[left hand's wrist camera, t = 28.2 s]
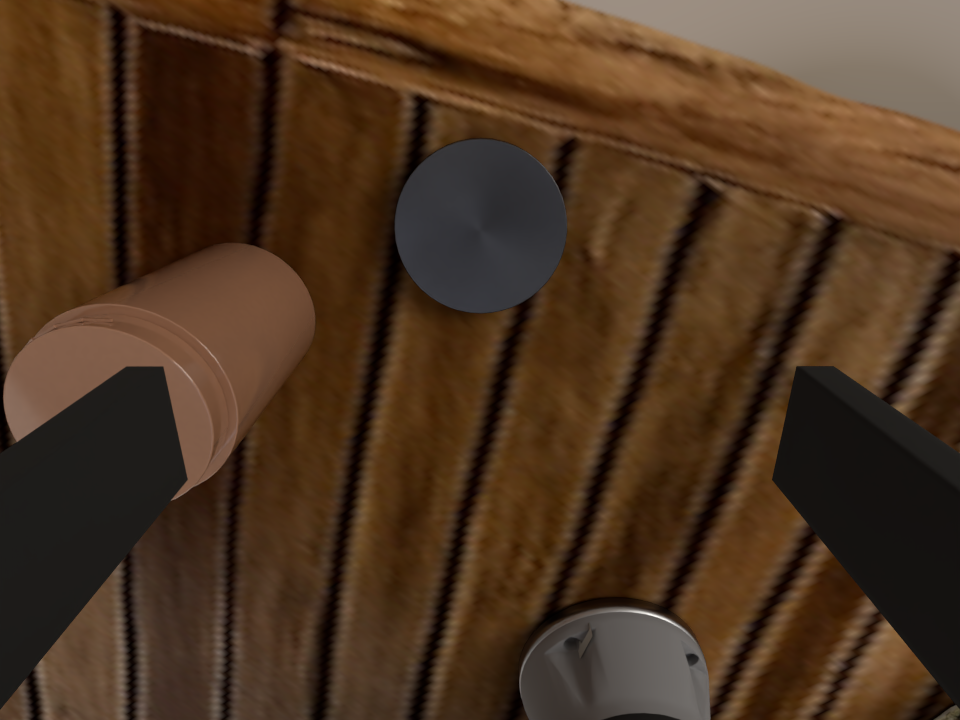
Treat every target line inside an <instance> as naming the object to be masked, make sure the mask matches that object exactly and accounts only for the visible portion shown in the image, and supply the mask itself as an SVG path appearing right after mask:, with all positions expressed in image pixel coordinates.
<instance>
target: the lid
mask: <svg viewBox="0 0 960 720" xmlns="http://www.w3.org/2000/svg"><path fill="white" fill-rule="evenodd" d="M394 231H395V240H396V245H397V249H398V253H399V255H400V258H401V261H402V263H403V265H404V267H405V269H406V270H407V272H408V274H409V275H410V277H411V278H412V279H413V281H414V282H415V283H416V284H417V285H418V286H419V287H420V288H421V290H423V291H424V292H425V293H426V294H427V295H429V296H430V297H431V298H433V299H434V300H436V301H438V302H439V303H441V304H443V305H445V306H448V307H450V308H453V309H456V310H459V311H464V312H469V313H492V312H497V311H502V310H505V309H508V308H512V307H514V306H516V305H518V304H520V303H522V302H524V301H525V300H527V299H529V298H530V297H531V296H533V295H534V294H535V293H536V292H538V291H539V290H540V289H541V288H542V287H543V286H544V285H545V284H546V283H547V281H548V280H549V278H550V277H551V276H552V274H553V273H554V271H555V269H556V268H557V266H558V264H559V261H560V259H561V257H562V254H563V250H564V247H565V243H566V235H567V217H566V209H565V205H564V201H563V198H562V195H561V193H560V190H559V188H558V186H557V184H556V182H555V181H554V179H553V177H552V176H551V175H550V173H549V172H548V171H547V169H546V168H545V167H544V166H543V165H542V164H541V163H540V162H539V161H538V160H537V159H536V158H534V157H533V156H532V155H530V154H529V153H527V152H526V151H524V150H523V149H521V148H519V147H517V146H515V145H513V144H510V143H507V142H505V141H501V140H496V139H490V138H470V139H465V140H460V141H457V142H454V143H451V144H448V145H446V146H444V147H443V148H441V149H439V150H437V151H436V152H434V153H433V154H431V155H430V156H429V157H427V158H426V159H425V160H424V161H423V162H422V163H421V164H419V165H418V166H417V168H416V169H415V170H414V171H413V173H412V174H411V175H410V177H409V178H408V180H407V182H406V183H405V185H404V187H403V189H402V192H401V194H400V196H399V200H398V203H397V207H396V213H395V225H394Z"/></svg>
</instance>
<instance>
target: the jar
mask: <svg viewBox="0 0 960 720" xmlns="http://www.w3.org/2000/svg"><path fill="white" fill-rule="evenodd" d="M314 332H315V312H314V307H313V303H312V300H311V297H310V295H309V292H308V290H307V288H306V287H305V285H304V283H303V281H302V280H301V279H300V277H299V276H298V275H297V273H296V272H295V271H294V270H293V269H292V268H291V267H290V266H289V265H287V264H286V263H285V262H284V261H283V260H281V259H280V258H278V257H277V256H275V255H274V254H272V253H270V252H268V251H266V250H264V249H261V248H258V247H256V246H252V245H248V244H242V243H222V244H216V245H212V246H209V247H206V248H204V249H202V250H199V251H197V252H195V253H193V254H191V255H189V256H186V257H184V258H182V259H180V260H178V261H175V262H173V263H171V264H169V265H167V266H164V267H162V268H160V269H158V270H156V271H154V272H151V273H149V274H147V275H145V276H143V277H140V278H138V279H136V280H134V281H132V282H129V283H127V284H125V285H123V286H121V287H119V288H116V289H114V290H112V291H110V292H108V293H105V294H103V295H101V296H99V297H97V298H95V299H92V300H90V301H88V302H86V303H84V304H81V305H79V306H77V307H75V308H73V309H70V310H68V311H66V312H64V313H62V314H60V315H58V316H56V317H55V318H54V319H52V320H51V321H49V322H48V323H47V324H46V325H45V326H44V327H43V328H42V329H41V330H40V331H39V332H38V333H37V334H36V336H35V337H33V338H31V339H30V340H29V342H28V343H27V344H26V345H25V347H24V348H23V349H22V350H21V351H20V352H19V353H18V355H17V356H16V357H15V358H14V360H13V362H12V364H11V366H10V368H9V370H8V373H7V375H6V379H5V383H4V392H3V401H4V410H5V415H6V419H7V422H8V425H9V428H10V430H11V433H12V435H13V437H14V439H15V440H16V442H18V441H19V440H21V439H22V438H23V437H25V436H26V435H28V434H29V433H31V432H32V431H34V430H35V429H37V428H38V427H39V426H41V425H42V424H44V423H45V422H47V421H48V420H50V419H51V418H52V417H54V416H55V415H57V414H58V413H60V412H61V411H63V410H64V409H65V408H67V407H68V406H70V405H71V404H73V403H74V402H76V401H77V400H78V399H80V398H81V397H83V396H84V395H86V394H87V393H89V392H90V391H92V390H93V389H94V388H96V387H97V386H99V385H100V384H102V383H103V382H105V381H106V380H107V379H109V378H110V377H112V376H113V375H115V374H116V373H118V372H119V371H120V370H122V369H123V368H125V367H126V366H163V367H164V371H165V376H166V381H167V385H168V390H169V395H170V399H171V404H172V408H173V413H174V418H175V422H176V427H177V432H178V436H179V441H180V445H181V450H182V455H183V459H184V464H185V469H186V473H187V478H188V480H187V481H186V483H185V484H184V485H183V486H182V488H181V489H180V490H179V491H178V492H177V494H176V495H175V496H174V497H173V499H172V500H174V499H176V498H178V497H180V496H181V495H183V494H185V493H186V492H187V491H189V490H190V489H191V488H192V487H194V486H196V485H199V484H200V483H202V482H204V481H205V480H207V479H209V478H210V477H211V476H212V475H213V474H215V473H216V472H217V471H218V470H219V469H220V468H221V467H222V465H223V464H224V463H225V462H226V460H227V459H228V458H229V456H230V455H231V454H232V452H233V451H234V450H235V448H236V447H237V446H238V444H239V443H240V442H241V440H242V439H243V438H244V436H245V435H246V434H247V432H248V431H249V430H250V428H251V427H252V426H253V424H254V423H255V422H256V420H257V419H258V418H259V416H260V415H261V414H262V412H263V411H264V410H265V408H266V407H267V406H268V404H269V403H270V402H271V400H272V399H273V398H274V396H275V395H276V394H277V392H278V391H279V390H280V388H281V387H282V386H283V384H284V383H285V382H286V380H287V379H288V378H289V376H290V375H291V374H292V372H293V371H294V370H295V368H296V367H297V366H298V364H299V363H300V362H301V360H302V359H303V358H304V356H305V355H306V353H307V352H308V350H309V348H310V346H311V343H312V340H313V337H314Z"/></svg>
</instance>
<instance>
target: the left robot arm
mask: <svg viewBox="0 0 960 720" xmlns="http://www.w3.org/2000/svg"><path fill="white" fill-rule="evenodd" d="M187 480H188V478H187V473H186V469H185V464H184V459H183V455H182V450H181V445H180V441H179V436H178V432H177V427H176V422H175V418H174V413H173V408H172V404H171V399H170V395H169V390H168V385H167V381H166V376H165V371H164V367H163V366H126V367H125V368H123V369H122V370H120V371H119V372H118V373H116V374H115V375H113V376H112V377H110V378H109V379H107V380H106V381H105V382H103V383H102V384H100V385H99V386H97V387H96V388H94V389H93V390H92V391H90V392H89V393H87V394H86V395H84V396H83V397H81V398H80V399H78V400H77V401H76V402H74V403H73V404H71V405H70V406H68V407H67V408H65V409H64V410H63V411H61V412H60V413H58V414H57V415H55V416H54V417H52V418H51V419H50V420H48V421H47V422H45V423H44V424H42V425H41V426H39V427H38V428H37V429H35V430H34V431H32V432H31V433H29V434H28V435H26V436H25V437H23V438H22V439H21V440H19V441H18V442H16V443H15V444H13V445H12V446H10V447H9V448H8V449H6V450H5V451H3V452H2V453H0V709H1V708H2V707H3V705H4V704H5V703H6V702H7V701H8V699H9V698H10V697H11V696H12V694H13V693H14V692H15V691H16V690H17V688H18V687H19V686H20V685H21V683H22V682H23V681H24V680H25V679H26V677H27V676H28V675H29V674H30V672H31V671H32V670H33V669H34V668H35V666H36V665H37V664H38V663H39V661H40V660H41V659H42V658H43V657H44V655H45V654H46V653H47V652H48V650H49V649H50V648H51V647H52V645H53V644H54V643H55V642H56V641H57V639H58V638H59V637H60V636H61V634H62V633H63V632H64V631H65V630H66V628H67V627H68V626H69V625H70V623H71V622H72V621H73V620H74V619H75V617H76V616H77V615H78V614H79V612H80V611H81V610H82V609H83V608H84V606H85V605H86V604H87V603H88V601H89V600H90V599H91V598H92V597H93V595H94V594H95V593H96V592H97V590H98V589H99V588H100V587H101V585H102V584H103V583H104V582H105V581H106V579H107V578H108V577H109V576H110V574H111V573H112V572H113V571H114V570H115V568H116V567H117V566H118V565H119V563H120V562H121V561H122V560H123V559H124V557H125V556H126V555H127V554H128V552H129V551H130V550H131V549H132V548H133V546H134V545H135V544H136V543H137V541H138V540H139V539H140V538H141V537H142V535H143V534H144V533H145V532H146V530H147V529H148V528H149V527H150V526H151V524H152V523H153V522H154V521H155V519H156V518H157V517H158V516H159V514H160V513H161V512H162V511H163V510H164V508H165V507H166V506H167V505H168V503H169V502H170V501H171V500H172V499H173V497H174V496H175V495H176V494H177V492H178V491H179V490H180V489H181V488H182V486H183V485H184V484H185V483H186V481H187ZM772 480H773V481H774V483H775V484H776V485H777V486H778V488H779V489H780V490H781V491H782V492H783V494H784V495H785V496H786V497H787V499H788V500H789V501H790V502H791V503H792V505H793V506H794V507H795V508H796V510H797V511H798V512H799V513H800V514H801V516H802V517H803V518H804V519H805V521H806V522H807V523H808V524H809V526H810V527H811V528H812V529H813V530H814V532H815V533H816V534H817V535H818V537H819V538H820V539H821V540H822V541H823V543H824V544H825V545H826V546H827V548H828V549H829V550H830V551H831V552H832V554H833V555H834V556H835V557H836V559H837V560H838V561H839V562H840V563H841V565H842V566H843V567H844V568H845V570H846V571H847V572H848V573H849V574H850V576H851V577H852V578H853V579H854V581H855V582H856V583H857V584H858V585H859V587H860V588H861V589H862V590H863V592H864V593H865V594H866V595H867V597H868V598H869V599H870V600H871V601H872V603H873V604H874V605H875V606H876V608H877V609H878V610H879V611H880V612H881V614H882V615H883V616H884V617H885V619H886V620H887V621H888V622H889V623H890V625H891V626H892V627H893V628H894V630H895V631H896V632H897V633H898V634H899V636H900V637H901V638H902V639H903V641H904V642H905V643H906V644H907V645H908V647H909V648H910V649H911V650H912V652H913V653H914V654H915V655H916V657H917V658H918V659H919V660H920V661H921V663H922V664H923V665H924V666H925V668H926V669H927V670H928V671H929V672H930V674H931V675H932V676H933V677H934V679H935V680H936V681H937V682H938V683H939V685H940V686H941V687H942V688H943V690H944V691H945V692H946V693H947V694H948V696H949V697H950V698H951V699H952V701H953V702H954V703H955V704H956V705H957V707H958V708H959V709H960V453H958V452H957V451H955V450H954V449H952V448H951V447H950V446H948V445H947V444H945V443H944V442H942V441H941V440H939V439H938V438H937V437H935V436H934V435H932V434H931V433H929V432H928V431H926V430H925V429H923V428H922V427H921V426H919V425H918V424H916V423H915V422H913V421H912V420H910V419H909V418H908V417H906V416H905V415H903V414H902V413H900V412H899V411H897V410H896V409H895V408H893V407H892V406H890V405H889V404H887V403H886V402H884V401H883V400H882V399H880V398H879V397H877V396H876V395H874V394H873V393H871V392H870V391H868V390H867V389H866V388H864V387H863V386H861V385H860V384H858V383H857V382H855V381H854V380H853V379H851V378H850V377H848V376H847V375H845V374H844V373H842V372H841V371H840V370H838V369H837V368H835V367H834V366H797V367H796V371H795V376H794V381H793V385H792V390H791V395H790V399H789V404H788V408H787V413H786V418H785V422H784V427H783V432H782V436H781V441H780V445H779V450H778V455H777V459H776V464H775V469H774V473H773V478H772ZM519 684H520V694H521V698H522V701H523V705H524V709H525V711H526V714H527V716H528V718H529V720H710V700H709V678H708V671H707V667H706V661H705V658H704V655H703V653H702V650H701V648H700V646H699V643H698V641H697V639H696V637H695V635H694V633H693V632H692V630H691V629H690V627H689V626H688V625H687V624H686V623H685V622H684V621H683V620H682V619H681V618H680V617H678V616H677V615H676V614H674V613H672V612H671V611H669V610H667V609H665V608H663V607H661V606H659V605H656V604H653V603H650V602H646V601H643V600H637V599H630V598H604V599H597V600H592V601H587V602H583V603H580V604H577V605H574V606H572V607H569V608H567V609H565V610H563V611H561V612H559V613H557V614H555V615H554V616H552V617H551V618H549V619H548V620H546V621H545V622H544V623H543V624H542V625H540V626H539V627H538V628H537V629H536V630H535V631H534V633H533V634H532V635H531V636H530V638H529V639H528V641H527V642H526V644H525V646H524V648H523V650H522V653H521V656H520V661H519Z"/></svg>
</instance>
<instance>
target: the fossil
mask: <svg viewBox="0 0 960 720" xmlns="http://www.w3.org/2000/svg"><path fill="white" fill-rule="evenodd" d="M934 720H960V709H959V708H958V707H957V705H955V706H953V707H951V708H949V709H948V710H947V711H945V712H944V713H942V714H941V715H940V716H938V717H937V718H935V719H934Z"/></svg>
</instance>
